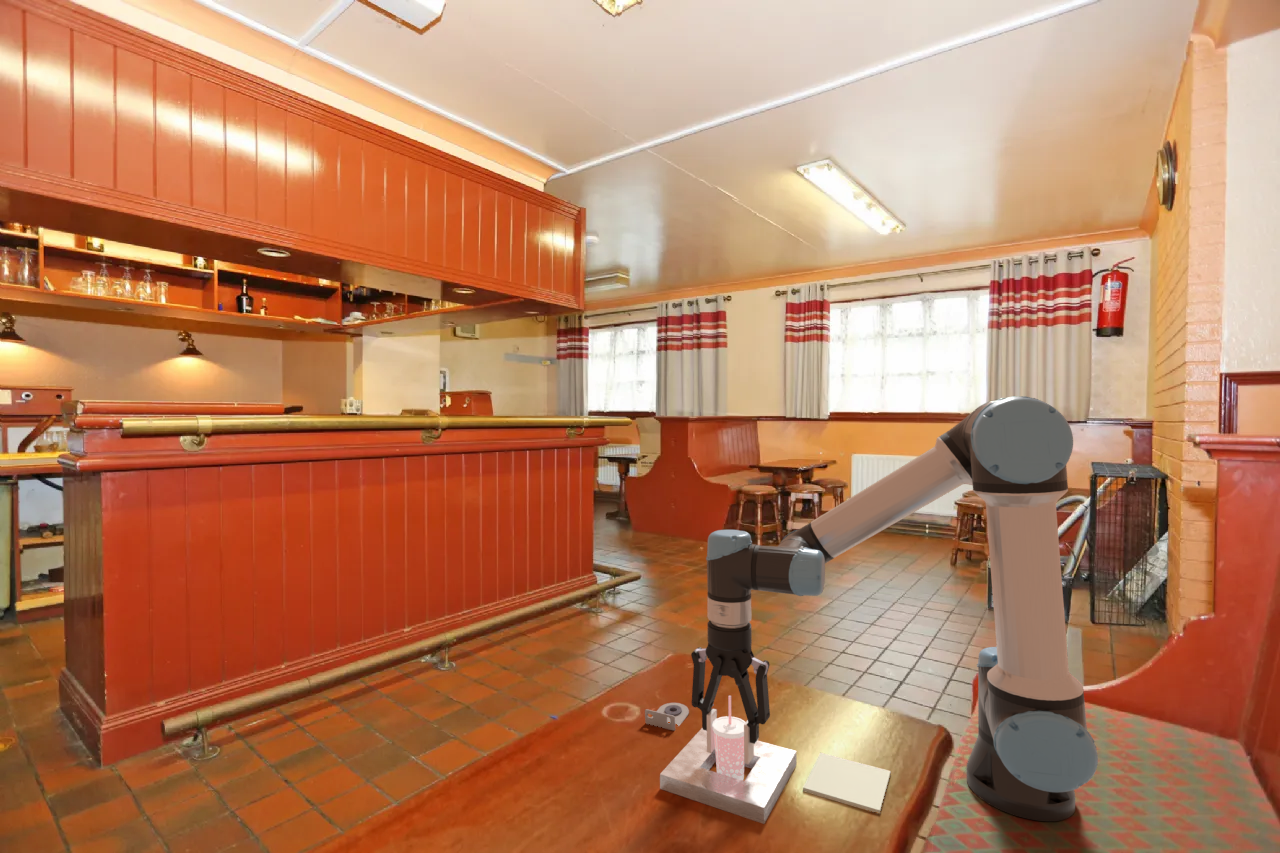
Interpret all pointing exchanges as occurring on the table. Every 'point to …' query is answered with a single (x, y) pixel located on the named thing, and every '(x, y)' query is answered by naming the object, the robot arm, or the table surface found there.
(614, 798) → the table surface
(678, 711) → the bracket
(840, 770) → the beige pad
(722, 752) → the beverage cup
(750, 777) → the white square frame
